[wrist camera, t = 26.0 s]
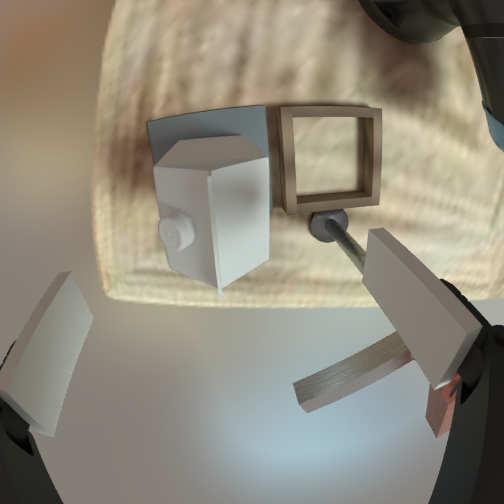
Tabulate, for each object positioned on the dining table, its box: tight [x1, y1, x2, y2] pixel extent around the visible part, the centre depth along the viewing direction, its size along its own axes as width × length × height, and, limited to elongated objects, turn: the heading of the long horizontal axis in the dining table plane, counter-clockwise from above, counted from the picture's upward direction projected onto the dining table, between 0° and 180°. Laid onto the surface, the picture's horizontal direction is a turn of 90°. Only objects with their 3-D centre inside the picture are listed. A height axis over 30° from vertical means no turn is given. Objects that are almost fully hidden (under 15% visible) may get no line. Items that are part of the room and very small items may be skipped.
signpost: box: [293, 219, 461, 438], centre depth 27 cm, size 12×12×27 cm
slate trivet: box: [147, 105, 273, 213], centre depth 31 cm, size 13×13×1 cm
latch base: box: [310, 209, 348, 243], centre depth 37 cm, size 5×5×1 cm
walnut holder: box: [276, 106, 382, 215], centre depth 31 cm, size 12×12×2 cm
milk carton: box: [153, 135, 269, 299], centre depth 23 cm, size 7×7×19 cm
